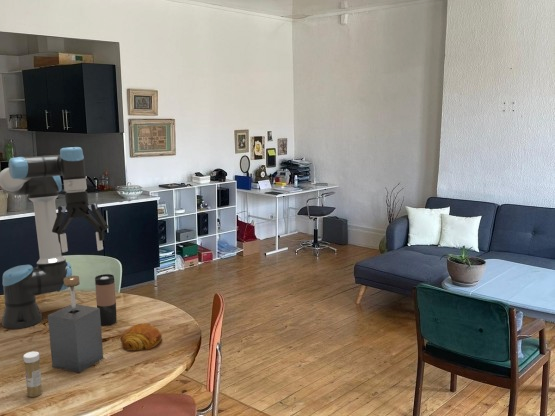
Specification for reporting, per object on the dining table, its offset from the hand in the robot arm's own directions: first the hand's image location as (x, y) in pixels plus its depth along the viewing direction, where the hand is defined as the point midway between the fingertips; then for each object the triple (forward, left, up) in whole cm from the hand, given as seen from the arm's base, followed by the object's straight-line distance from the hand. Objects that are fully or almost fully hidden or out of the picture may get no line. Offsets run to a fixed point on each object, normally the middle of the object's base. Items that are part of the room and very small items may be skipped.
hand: (82, 250), depth 198 cm
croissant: (+13, +14, -39) cm, 43 cm away
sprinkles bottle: (+5, -31, -39) cm, 49 cm away
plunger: (+2, -9, -28) cm, 29 cm away
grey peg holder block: (+2, -9, -38) cm, 39 cm away
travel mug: (-13, +24, -39) cm, 47 cm away
